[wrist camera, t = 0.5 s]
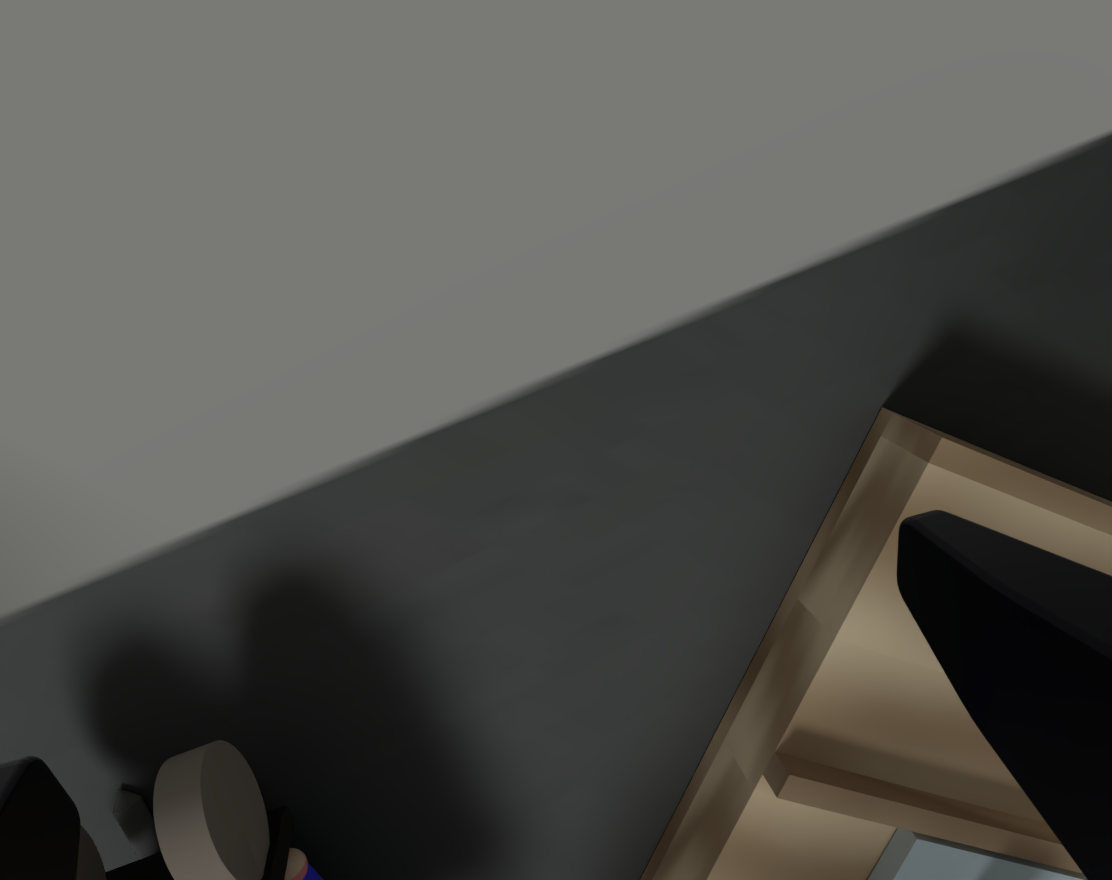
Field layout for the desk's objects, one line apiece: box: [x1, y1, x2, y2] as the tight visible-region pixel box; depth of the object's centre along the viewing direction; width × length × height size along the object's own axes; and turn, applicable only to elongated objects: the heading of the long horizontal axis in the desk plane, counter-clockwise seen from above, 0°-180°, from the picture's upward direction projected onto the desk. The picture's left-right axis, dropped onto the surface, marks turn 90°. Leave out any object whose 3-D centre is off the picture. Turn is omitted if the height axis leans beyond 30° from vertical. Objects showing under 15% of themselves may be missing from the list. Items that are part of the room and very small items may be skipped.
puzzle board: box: [640, 407, 1112, 880], centre depth 29 cm, size 19×20×4 cm
